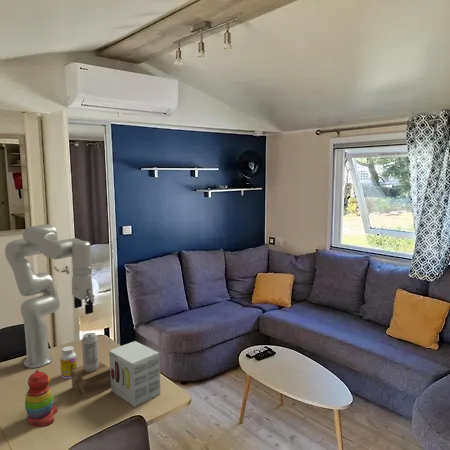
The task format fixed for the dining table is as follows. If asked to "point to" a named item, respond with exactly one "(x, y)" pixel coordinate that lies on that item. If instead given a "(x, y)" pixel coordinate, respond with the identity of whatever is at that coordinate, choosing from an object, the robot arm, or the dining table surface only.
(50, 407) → the stacking bear
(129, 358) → the supplement box
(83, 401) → the dining table surface
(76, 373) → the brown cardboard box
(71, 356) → the supplement bottle
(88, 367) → the energy drink can
